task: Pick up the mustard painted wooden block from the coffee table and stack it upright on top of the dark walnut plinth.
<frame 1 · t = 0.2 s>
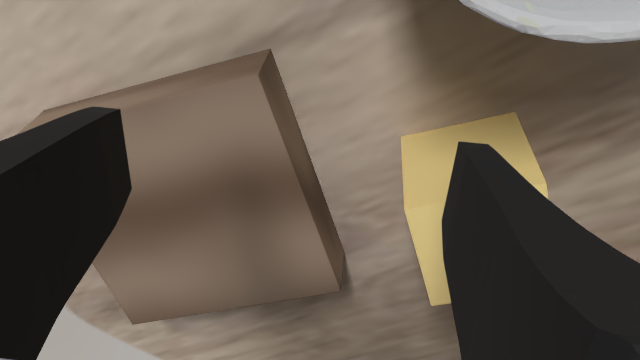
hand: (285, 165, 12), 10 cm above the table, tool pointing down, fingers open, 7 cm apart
walnut plinth: (202, 185, 25), on the table
mustard block: (466, 170, 23), on the table
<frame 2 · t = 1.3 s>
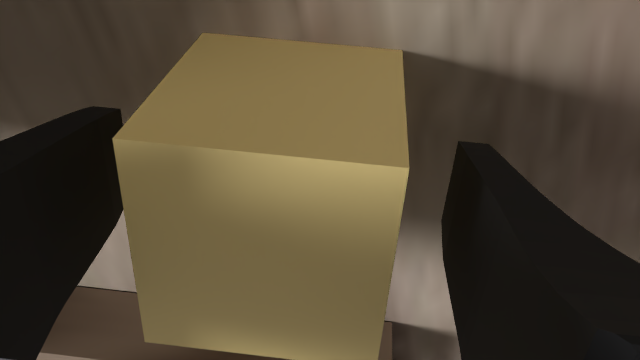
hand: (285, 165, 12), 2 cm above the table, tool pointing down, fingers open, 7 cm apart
mustard block: (298, 129, 14), on the table
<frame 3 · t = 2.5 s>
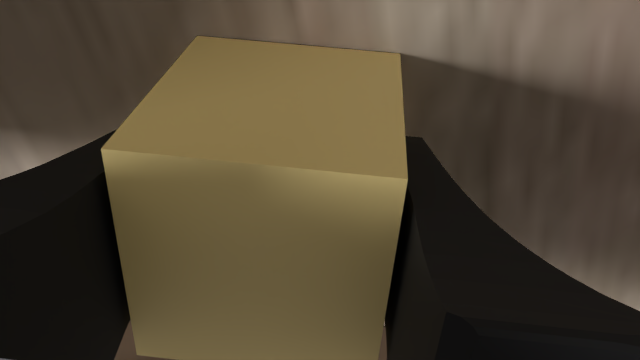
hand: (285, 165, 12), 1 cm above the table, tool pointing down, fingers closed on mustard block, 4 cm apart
mustard block: (294, 134, 13), on the table, touching gripper
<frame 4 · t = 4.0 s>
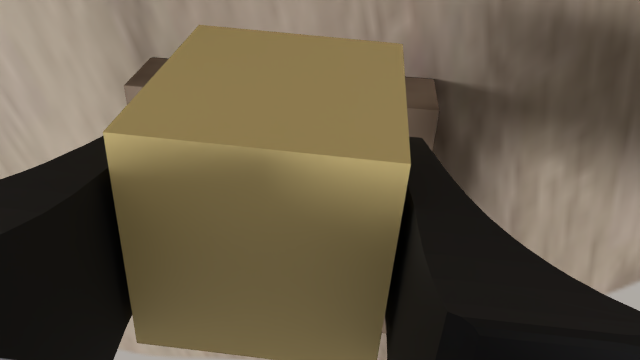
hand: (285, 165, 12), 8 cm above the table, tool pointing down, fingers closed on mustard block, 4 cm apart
walnut plinth: (288, 187, 23), on the table
mustard block: (295, 125, 13), point 7 cm above the table, touching gripper
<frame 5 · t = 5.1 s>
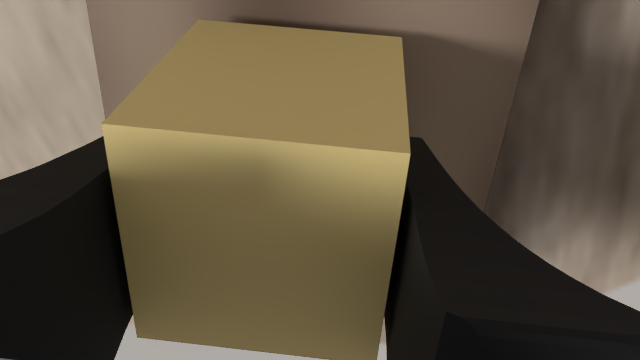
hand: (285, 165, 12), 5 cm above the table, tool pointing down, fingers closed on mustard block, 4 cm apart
walnut plinth: (310, 80, 16), on the table
mustard block: (295, 120, 13), point 3 cm above the table, touching gripper
when the fingers open (5 cm above the table, at t = 5.9 s): mustard block stays where it is, resting on walnut plinth.
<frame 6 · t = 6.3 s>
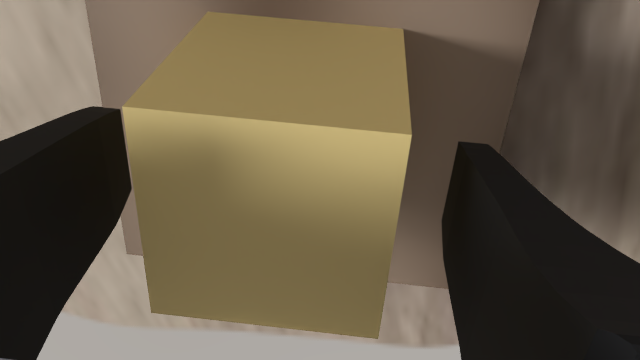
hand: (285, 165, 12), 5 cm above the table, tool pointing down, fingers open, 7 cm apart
walnut plinth: (310, 80, 16), on the table
mustard block: (300, 109, 14), point 2 cm above the table, touching walnut plinth
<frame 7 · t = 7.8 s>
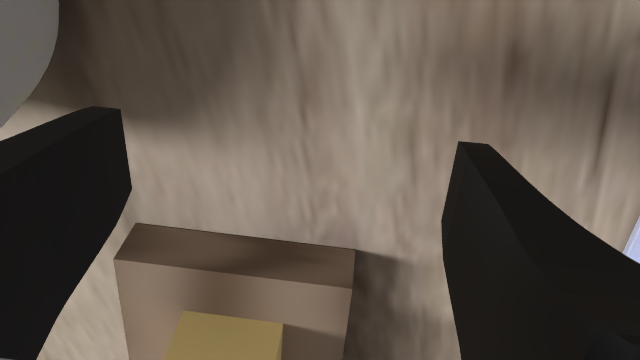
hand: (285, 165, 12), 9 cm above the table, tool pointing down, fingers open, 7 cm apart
walnut plinth: (244, 315, 28), on the table
mustard block: (233, 351, 26), point 2 cm above the table, touching walnut plinth
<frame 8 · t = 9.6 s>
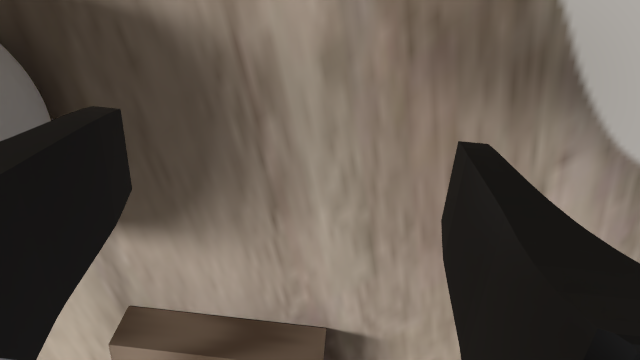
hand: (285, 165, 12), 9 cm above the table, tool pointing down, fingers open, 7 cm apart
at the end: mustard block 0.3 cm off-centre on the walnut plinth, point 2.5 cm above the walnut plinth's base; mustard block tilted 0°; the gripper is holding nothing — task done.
